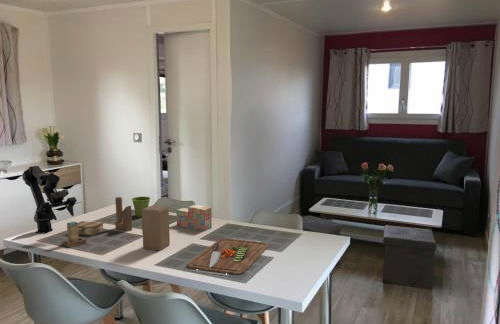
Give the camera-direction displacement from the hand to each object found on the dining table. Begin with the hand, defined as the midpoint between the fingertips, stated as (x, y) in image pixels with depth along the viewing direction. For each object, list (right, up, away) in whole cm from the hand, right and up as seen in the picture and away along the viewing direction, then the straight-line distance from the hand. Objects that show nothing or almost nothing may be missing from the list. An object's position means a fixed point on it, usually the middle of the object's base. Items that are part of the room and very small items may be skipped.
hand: (64, 217), depth 215 cm
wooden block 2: (+24, -10, +23) cm, 34 cm away
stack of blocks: (+63, -9, +27) cm, 69 cm away
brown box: (+5, -10, +18) cm, 21 cm away
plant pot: (+26, -6, +51) cm, 58 cm away
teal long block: (+5, -13, -2) cm, 14 cm away
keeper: (+5, -13, -2) cm, 14 cm away
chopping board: (+86, -16, -20) cm, 90 cm away
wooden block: (+49, -14, -8) cm, 52 cm away
